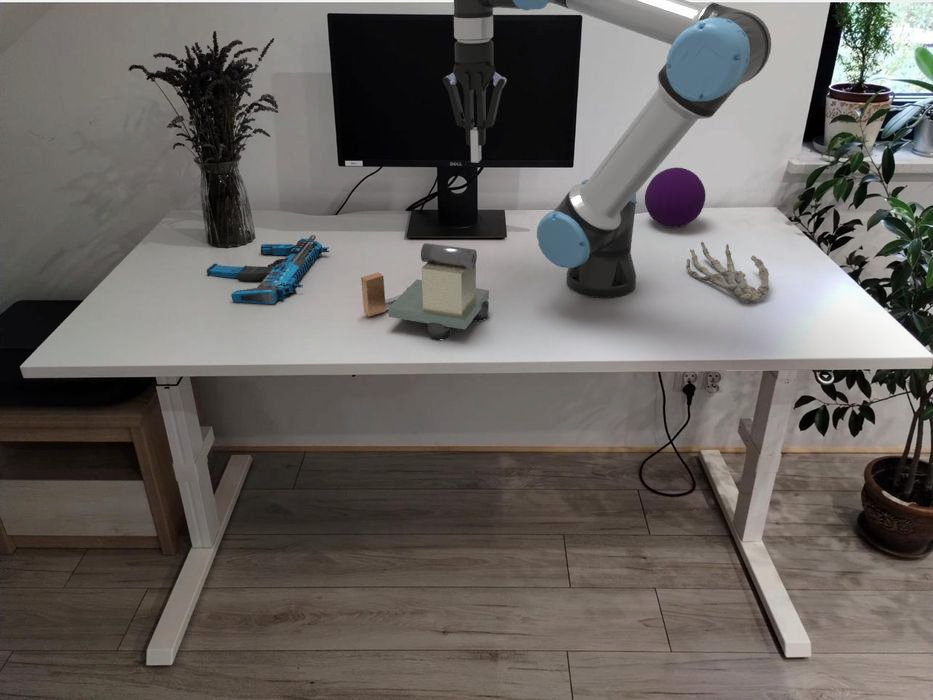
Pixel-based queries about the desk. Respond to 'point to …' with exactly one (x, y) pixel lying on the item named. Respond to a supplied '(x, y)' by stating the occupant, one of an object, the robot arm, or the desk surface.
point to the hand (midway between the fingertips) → (476, 160)
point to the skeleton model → (732, 276)
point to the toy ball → (675, 197)
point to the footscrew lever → (375, 294)
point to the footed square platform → (444, 292)
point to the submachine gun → (273, 271)
